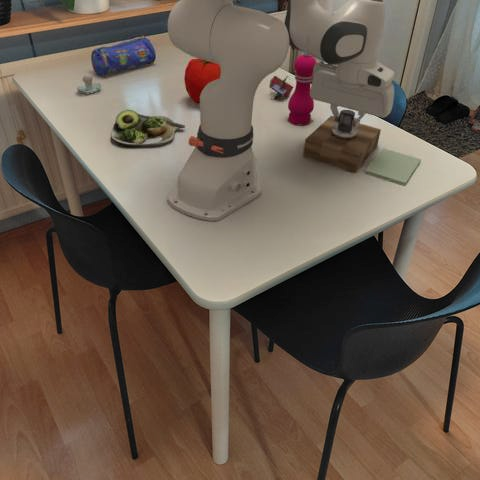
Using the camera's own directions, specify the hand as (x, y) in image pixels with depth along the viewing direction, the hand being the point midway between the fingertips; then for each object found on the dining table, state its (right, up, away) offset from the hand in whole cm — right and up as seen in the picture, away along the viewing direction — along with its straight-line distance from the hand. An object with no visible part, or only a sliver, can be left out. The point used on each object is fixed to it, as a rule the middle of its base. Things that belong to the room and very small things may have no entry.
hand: (345, 123), depth 125 cm
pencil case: (-65, +29, +45) cm, 84 cm away
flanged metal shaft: (0, -6, +5) cm, 8 cm away
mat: (+12, -11, 0) cm, 16 cm away
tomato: (-37, +13, +26) cm, 47 cm away
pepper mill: (-9, +5, +18) cm, 21 cm away
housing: (0, -6, +5) cm, 8 cm away
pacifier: (-73, +17, +30) cm, 81 cm away
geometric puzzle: (-14, +15, +30) cm, 37 cm away
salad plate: (-53, -1, +11) cm, 54 cm away
